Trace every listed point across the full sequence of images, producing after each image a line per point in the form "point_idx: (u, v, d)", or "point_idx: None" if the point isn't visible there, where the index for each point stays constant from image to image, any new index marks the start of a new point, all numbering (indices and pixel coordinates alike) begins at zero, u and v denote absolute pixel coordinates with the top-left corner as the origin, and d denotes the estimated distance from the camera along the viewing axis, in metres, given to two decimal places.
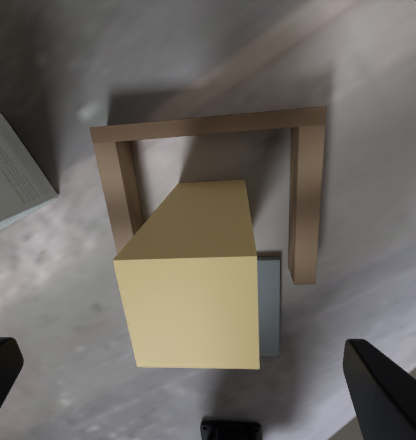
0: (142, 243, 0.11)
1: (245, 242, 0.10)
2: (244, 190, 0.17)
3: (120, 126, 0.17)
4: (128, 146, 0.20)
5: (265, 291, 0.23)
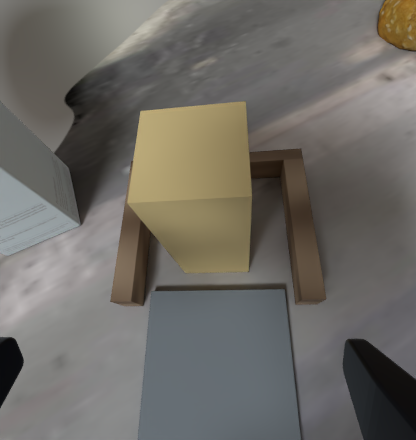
0: None
1: None
2: None
3: None
4: None
5: (272, 332, 0.19)
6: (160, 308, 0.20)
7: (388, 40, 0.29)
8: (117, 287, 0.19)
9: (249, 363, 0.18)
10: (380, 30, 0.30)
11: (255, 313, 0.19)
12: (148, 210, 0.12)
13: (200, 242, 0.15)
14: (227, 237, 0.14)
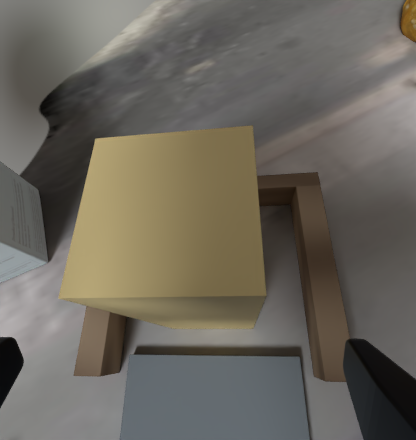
0: None
1: None
2: None
3: None
4: None
5: (284, 418, 0.14)
6: (140, 379, 0.16)
7: (414, 38, 0.25)
8: (83, 355, 0.15)
9: None
10: (404, 27, 0.26)
11: (262, 390, 0.15)
12: (98, 302, 0.07)
13: (187, 317, 0.11)
14: (225, 315, 0.10)
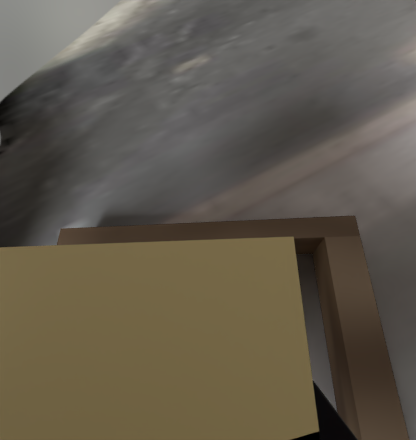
0: None
1: None
2: None
3: (97, 228, 0.14)
4: None
5: None
6: None
7: None
8: None
9: None
10: None
11: None
12: None
13: None
14: None
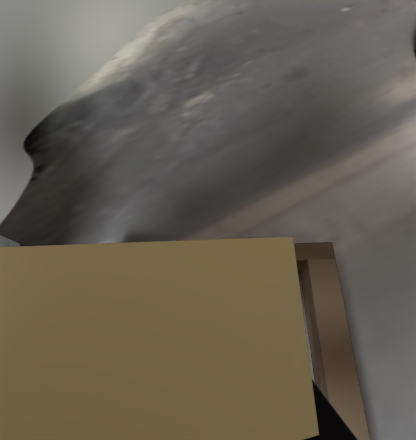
0: None
1: None
2: None
3: None
4: None
5: None
6: None
7: None
8: None
9: None
10: None
11: None
12: None
13: None
14: None
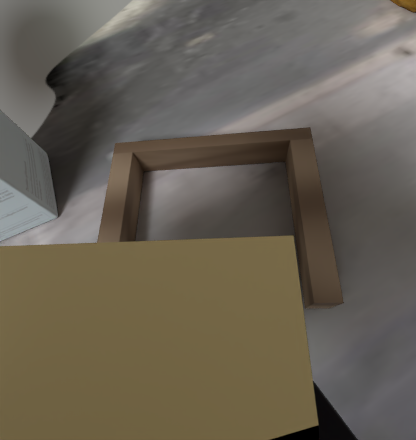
0: None
1: None
2: None
3: (140, 142, 0.21)
4: (141, 174, 0.22)
5: None
6: None
7: (400, 3, 0.27)
8: None
9: None
10: None
11: None
12: None
13: None
14: None
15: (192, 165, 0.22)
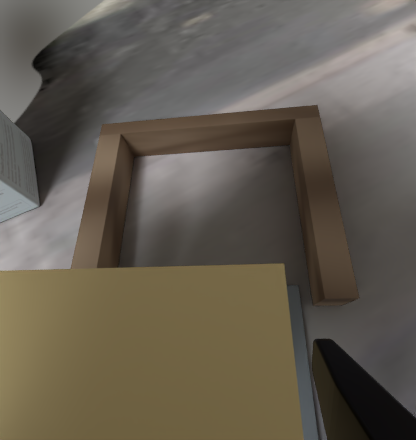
0: None
1: None
2: None
3: (130, 122, 0.19)
4: (131, 159, 0.20)
5: None
6: None
7: None
8: None
9: None
10: None
11: None
12: None
13: None
14: None
15: (187, 149, 0.20)
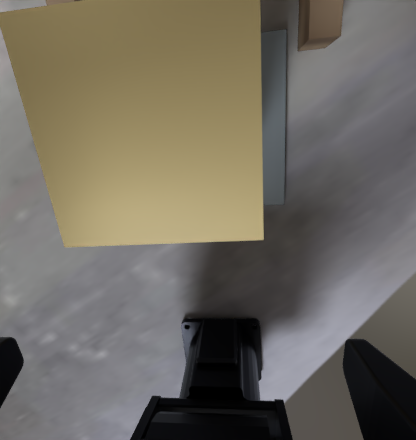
0: None
1: None
2: None
3: None
4: None
5: (265, 89, 0.16)
6: None
7: None
8: None
9: None
10: None
11: None
12: None
13: None
14: None
15: None
